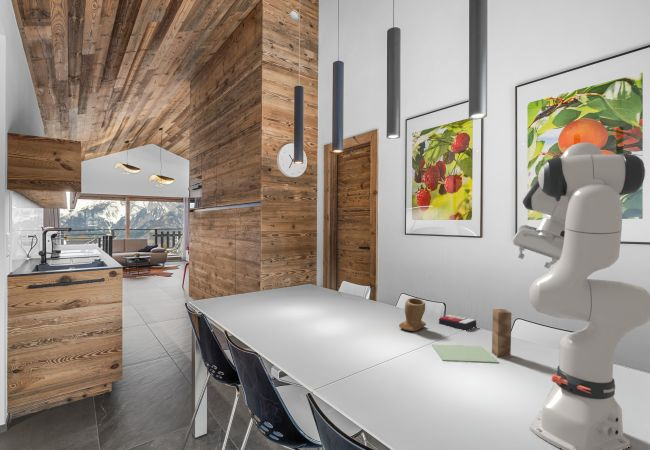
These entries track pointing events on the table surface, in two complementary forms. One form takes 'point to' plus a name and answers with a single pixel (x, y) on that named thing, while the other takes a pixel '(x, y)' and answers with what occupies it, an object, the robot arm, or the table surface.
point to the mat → (464, 353)
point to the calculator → (458, 322)
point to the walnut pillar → (501, 333)
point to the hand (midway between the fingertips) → (533, 262)
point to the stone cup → (413, 315)
